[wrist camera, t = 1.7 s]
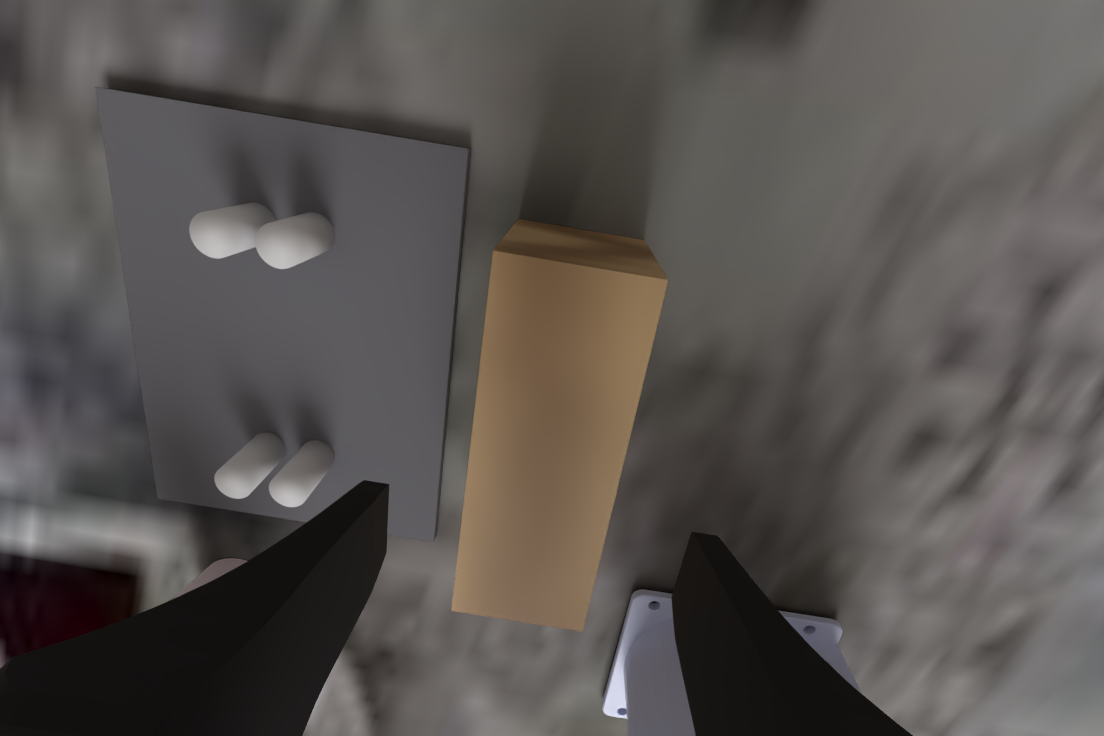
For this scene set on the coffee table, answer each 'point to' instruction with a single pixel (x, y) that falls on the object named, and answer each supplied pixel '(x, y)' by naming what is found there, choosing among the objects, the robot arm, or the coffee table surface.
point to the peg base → (287, 304)
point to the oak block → (553, 418)
